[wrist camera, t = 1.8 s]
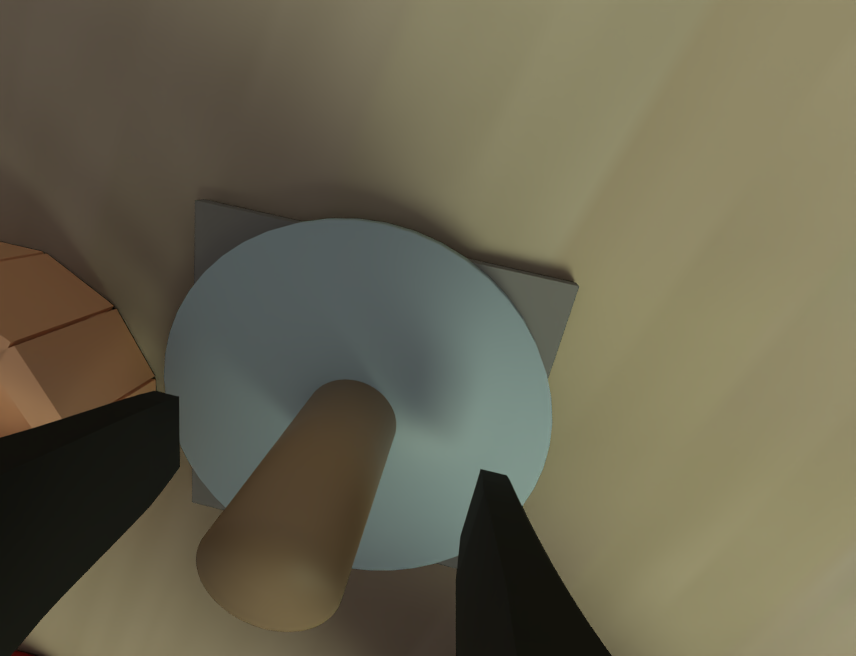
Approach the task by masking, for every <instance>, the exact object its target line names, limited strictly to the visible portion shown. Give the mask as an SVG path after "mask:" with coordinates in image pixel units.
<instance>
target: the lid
mask: <svg viewBox="0 0 856 656" xmlns="http://www.w3.org/2000/svg"><path fill="white" fill-rule="evenodd" d="M164 383H165V393H166V394H171V395H175V396H179V435H180V446H181V448H182V450H183V452H184V454H185V456H186V458H187V460H188V461H189V463H190V464H191V466H192V467H193V469H194V471H195V472H196V474H197V475H198V477H199V478H200V480H201V481H202V482H203V483H204V485H205V486H206V487H207V488H208V489H209V491H210V492H211V493H212V494H213V495H214V497H215V498H216V499H217V500H218V501H219V502H220V503H221V504H222V505H223V506H224V507H225V509H224V511H223V512H222V513H221V515H220V516H219V517H218V519H217V520H216V521H215V523H214V524H213V525H212V526H211V528H210V529H209V530H208V532H207V533H206V534H205V536H204V537H203V538H202V540H201V542H200V544H199V546H198V550H197V556H196V564H197V570H198V574H199V577H200V579H201V581H202V583H203V585H204V587H205V589H206V590H207V591H208V593H209V594H210V596H211V597H212V598H213V599H214V600H215V601H216V602H217V603H218V604H219V605H220V606H221V607H222V608H224V609H225V610H226V611H228V612H229V613H230V614H232V615H233V616H235V617H237V618H238V619H240V620H242V621H244V622H246V623H249V624H251V625H254V626H256V627H260V628H263V629H267V630H272V631H280V632H296V631H303V630H308V629H311V628H314V627H316V626H318V625H321V624H322V623H324V622H325V621H327V620H328V619H329V618H330V617H331V616H332V615H333V614H334V613H335V612H336V610H337V609H338V607H339V605H340V603H341V600H342V597H343V593H344V590H345V587H346V584H347V581H348V578H349V575H350V572H351V569H362V570H401V569H410V568H417V567H421V566H426V565H431V564H435V563H438V562H441V561H444V560H447V559H450V558H453V557H456V556H458V554H459V544H460V536H461V532H462V529H463V526H464V522H465V519H466V516H467V512H468V509H469V506H470V502H471V499H472V496H473V493H474V489H475V486H476V483H477V479H478V476H479V473H480V469H483V470H487V471H491V472H496V473H500V474H504V475H507V476H508V478H509V479H510V481H511V483H512V486H513V488H514V490H515V492H516V494H517V496H518V499H519V501H520V503H521V505H522V506H523V504H524V503H525V501H526V500H527V498H528V497H529V495H530V494H531V492H532V491H533V489H534V487H535V485H536V483H537V481H538V479H539V476H540V474H541V472H542V470H543V467H544V464H545V460H546V457H547V453H548V449H549V446H550V437H551V429H552V404H551V394H550V389H549V384H548V379H547V374H546V371H545V368H544V365H543V362H542V359H541V356H540V354H539V351H538V348H537V345H536V342H535V340H534V338H533V336H532V334H531V332H530V330H529V328H528V326H527V325H526V323H525V321H524V319H523V317H522V316H521V314H520V313H519V312H518V310H517V309H516V307H515V306H514V305H513V303H512V302H511V300H510V299H509V298H508V296H507V295H506V294H505V293H504V292H503V291H502V290H501V289H500V288H499V287H498V285H497V284H496V283H495V282H494V281H493V280H492V279H491V278H490V277H489V276H488V275H487V274H486V273H484V272H483V271H482V270H481V269H479V268H478V267H477V266H476V265H474V264H473V263H472V262H471V261H470V260H469V259H467V258H466V257H464V256H463V255H461V254H460V253H458V252H456V251H455V250H453V249H451V248H450V247H448V246H446V245H445V244H443V243H442V242H439V241H437V240H435V239H433V238H430V237H428V236H426V235H424V234H421V233H419V232H417V231H414V230H411V229H407V228H404V227H401V226H397V225H394V224H390V223H386V222H380V221H373V220H367V219H360V218H327V219H319V220H311V221H304V222H300V223H296V224H292V225H288V226H285V227H281V228H277V229H274V230H270V231H267V232H265V233H263V234H260V235H258V236H256V237H254V238H251V239H249V240H247V241H245V242H243V243H241V244H240V245H238V246H237V247H235V248H234V249H232V250H231V251H229V252H227V253H226V254H224V255H223V256H222V257H221V258H219V259H218V260H217V261H216V262H215V263H214V264H213V265H212V266H211V267H209V268H208V269H207V270H206V271H205V272H204V273H203V274H202V276H201V277H200V278H199V279H198V280H197V282H196V283H195V284H194V285H193V287H192V288H191V289H190V290H189V292H188V294H187V296H186V297H185V299H184V301H183V303H182V304H181V306H180V308H179V310H178V312H177V314H176V317H175V320H174V322H173V325H172V328H171V330H170V333H169V338H168V343H167V348H166V353H165V366H164Z"/></svg>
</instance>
